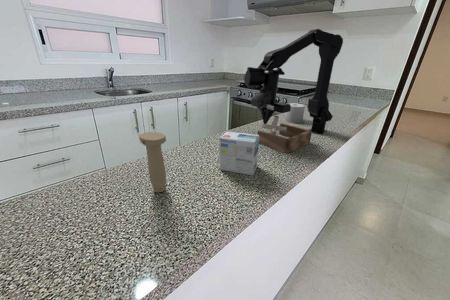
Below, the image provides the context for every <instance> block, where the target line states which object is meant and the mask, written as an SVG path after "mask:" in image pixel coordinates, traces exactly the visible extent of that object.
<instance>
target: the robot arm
mask: <svg viewBox="0 0 450 300" xmlns="http://www.w3.org/2000/svg"><path fill="white" fill-rule="evenodd" d="M343 44H344V38H343V37H342V36H341V35H340V34H338V33H337V34H334V33H331V32H328V31H324V30H322V29H320V28H316V29H311V30H309V31H308V32H307V33H305V34H303V35H302V36H300V37H297V38H296V39H295V40H294V41H291V42H290V43H288V44H286V45H285V46H282V47H281V48H276V49H273V50H271V51H268V52H267V53H265V54H264V57H263V60H262V61H261V62H260V64H259V65H258V67H251V66H248V67H247V69H246V71H245V73H244V76H243V77H244V78H243V81H244V86H246V87H261V86H262V88H260V90H259V93H257V94H255V95H253V96H249V97H248V98H247V99H246V104H247V105H251V106H252V107H256V109H258V111H260V114H261V117H262V121H263V124H268V122H269V120H270V119H271V117H272V116H273V115H274V113H275V112H276V113H280V114H285V112H290V110H291V106H290V104H289V103H288V102H287V103H286V102H278V99H277V94H278V93H279V92H280V89H278V87H279V86H278V85H279V79H280V75H281V76H282V75H283V76H284V75H286V74H285V72H284V70H283V69H282V68H281V67H282V66H284V64H286V63H287V62H288V61H289V59H290V58H291V57H292V56H294V55H296V54H297V53H299V52H300V51H303V50H304V49H306V48H307V47H309V46H311V45H314V46H316V47H317V48H318V55H319V58H320V62H319V68H318V69H319V70H318V74H317V80H316V85H315V91H314V95H313V96H312V98H308V101H307V106H306V109H307V112H308V113H309V117H311V118H312V123H311V128H310V129H308V130H311V131H312V133H315V134H318V135H323V134H325V133H327V132H328V130H327V129H326V125H327V122H330V121H332V119H333V117H334V116H333V114H332V113H331V111H330V110H329V109H330V102H329V99H328V92H329V87H330V83H331V78H332V72H333V68H334V64H335V63H334V62H335V60H336V58H337V57H338V56H339V54H340V53H341V49H342V47H343Z"/></svg>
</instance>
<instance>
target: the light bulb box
mask: <svg viewBox="0 0 450 300" xmlns="http://www.w3.org/2000/svg"><path fill="white" fill-rule="evenodd" d="M259 144H260V143H259V135H257V134H253V133H243V132H234V131H226V132H224V134H221V136H220V137H219V170H220V171H226V172H230V173H237V174H243V175H249V176H254V174H255V171H256V170H257V168H258V159H259V146H260V145H259Z"/></svg>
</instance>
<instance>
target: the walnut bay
mask: <svg viewBox="0 0 450 300" xmlns="http://www.w3.org/2000/svg"><path fill="white" fill-rule="evenodd" d="M279 126H281V127H287V130H286V132H284V131H278V134H279V135H280V136H279V135H277V134H276V135H274V134H270V132H267V131H264V130H261V129H259V130H257V133H256V135H259V144H260V145H263V146H265V147H268V148H271V149H274V150H277V151H278V152H282V153H285V154H289V153H291V152H293V151H295V150H297V149H300V148H301V147H303V146H305V145H308V144H310V143H311V138H312V133H313V132H312V131H311V130H309V129H307V128H303V127H299V126H295V125H290V124H287V123H282V122H281V123H279ZM282 136H283V137H282ZM286 137H287V138H286Z"/></svg>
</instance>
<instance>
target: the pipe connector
mask: <svg viewBox="0 0 450 300" xmlns="http://www.w3.org/2000/svg"><path fill="white" fill-rule="evenodd" d="M279 118H280V117H279V115H274V117H273V120H272V121H271V123H270V124H268V123H267V124H264V123H262V124H261V127H260V128H262V129H266V130H270V132H269V133H270V134H274V135H277V134H278V133H277V131H278V132H279V131H284V132H286V130H287V127H281V126H280V125H278V122H279Z"/></svg>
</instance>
